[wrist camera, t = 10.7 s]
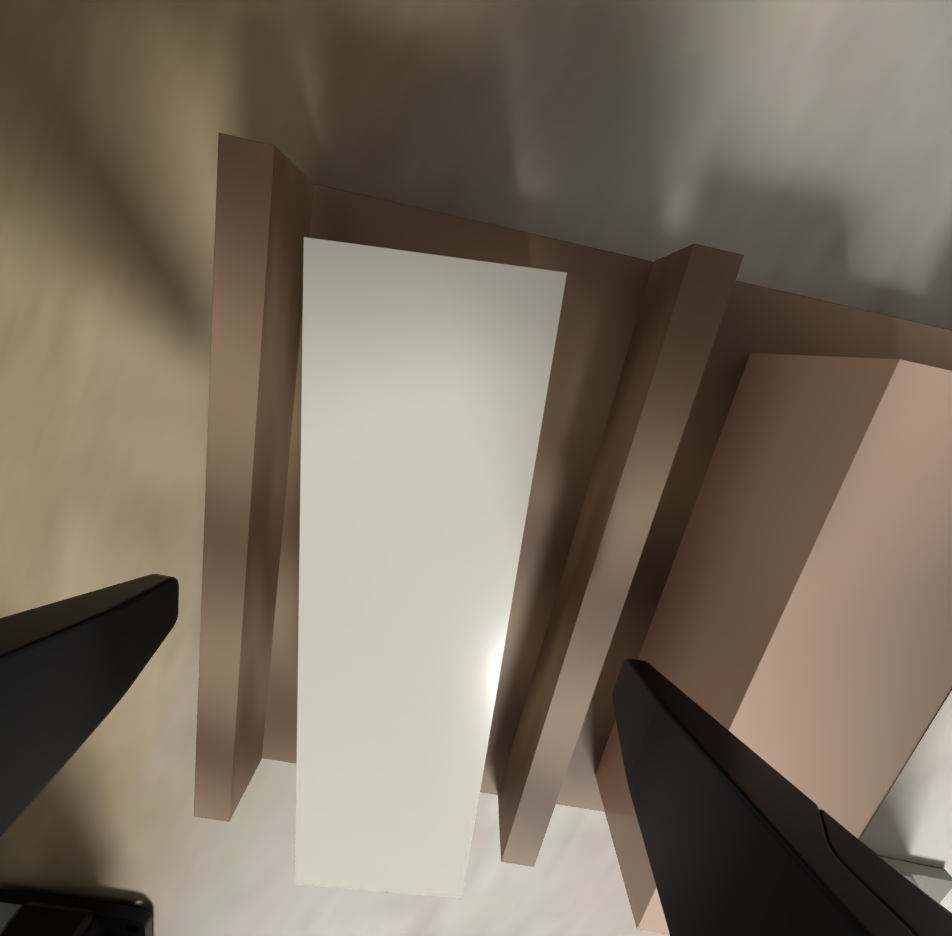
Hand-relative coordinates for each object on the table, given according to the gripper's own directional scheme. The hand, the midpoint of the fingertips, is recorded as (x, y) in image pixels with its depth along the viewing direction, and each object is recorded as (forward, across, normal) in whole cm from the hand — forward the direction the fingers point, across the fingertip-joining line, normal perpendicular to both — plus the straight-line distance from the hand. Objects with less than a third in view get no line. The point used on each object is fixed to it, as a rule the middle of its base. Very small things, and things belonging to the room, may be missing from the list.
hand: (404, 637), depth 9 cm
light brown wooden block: (+4, -9, 0) cm, 10 cm away
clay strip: (+4, 0, 0) cm, 4 cm away
